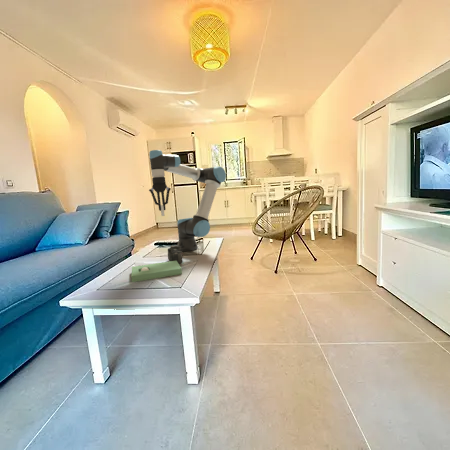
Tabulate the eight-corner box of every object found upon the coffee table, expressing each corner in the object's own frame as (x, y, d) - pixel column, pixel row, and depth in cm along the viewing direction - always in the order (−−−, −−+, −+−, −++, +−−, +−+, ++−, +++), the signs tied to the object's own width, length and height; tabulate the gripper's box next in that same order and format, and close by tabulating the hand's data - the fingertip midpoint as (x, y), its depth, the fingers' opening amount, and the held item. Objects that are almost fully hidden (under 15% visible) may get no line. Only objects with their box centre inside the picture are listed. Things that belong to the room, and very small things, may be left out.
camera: (188, 261, 148) (187, 245, 146) (174, 265, 141) (173, 248, 139) (176, 258, 157) (175, 243, 156) (162, 262, 150) (161, 246, 149)
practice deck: (176, 265, 141) (176, 260, 140) (182, 274, 125) (181, 268, 124) (132, 272, 133) (132, 266, 132) (132, 282, 117) (131, 276, 116)
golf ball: (143, 275, 128) (150, 270, 129) (143, 277, 124) (150, 273, 125) (139, 269, 127) (146, 264, 128) (139, 271, 123) (146, 266, 124)
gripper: (168, 176, 152) (172, 214, 156) (146, 178, 148) (151, 216, 151) (170, 175, 145) (174, 215, 149) (147, 177, 141) (152, 217, 144)
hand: (163, 215), depth 150 cm, fingers closed
